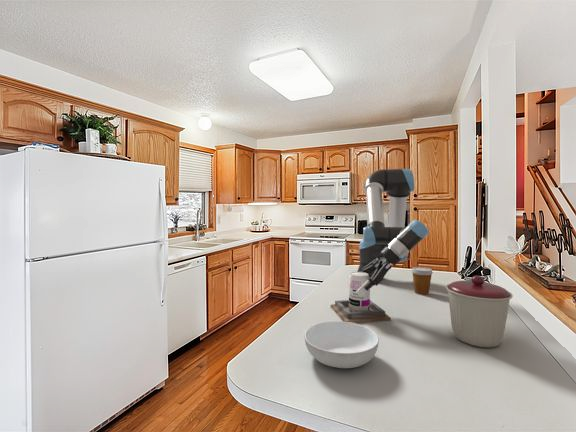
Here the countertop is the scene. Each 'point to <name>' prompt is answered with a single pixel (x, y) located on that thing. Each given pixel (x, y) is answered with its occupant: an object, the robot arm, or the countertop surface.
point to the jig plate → (359, 313)
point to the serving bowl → (341, 343)
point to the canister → (478, 311)
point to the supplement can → (354, 299)
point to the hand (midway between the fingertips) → (355, 289)
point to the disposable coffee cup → (421, 280)
